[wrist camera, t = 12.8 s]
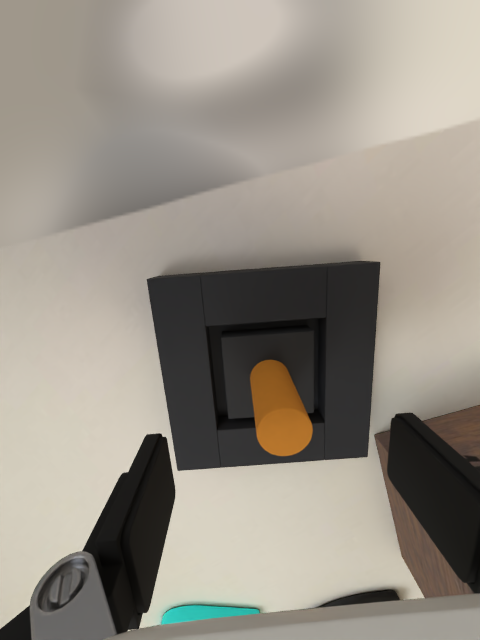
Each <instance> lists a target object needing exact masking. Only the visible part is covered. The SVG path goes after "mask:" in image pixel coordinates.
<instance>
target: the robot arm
mask: <svg viewBox="0 0 480 640" xmlns="http://www.w3.org/2000/svg"><path fill="white" fill-rule="evenodd" d="M387 475H388V478H389V480H390V481H391V483H392V484H393V486H394V487H395V489H396V490H397V491H398V493H399V494H400V496H401V497H402V498H403V500H404V501H405V503H406V504H407V506H408V507H409V508H410V510H411V511H412V513H413V514H414V516H415V517H416V518H417V520H418V521H419V523H420V524H421V525H422V527H423V528H424V530H425V531H426V533H427V534H428V535H429V537H430V538H431V540H432V541H433V543H434V544H435V545H436V547H437V548H438V550H439V551H440V552H441V554H442V555H443V557H444V558H445V560H446V561H447V562H448V564H449V565H450V567H451V568H452V570H453V571H454V572H455V574H456V575H457V577H458V578H459V579H460V580H461V581H462V582H464V583H467V584H468V586H469V587H470V589H471V590H472V591H473V593H474V594H466V595H455V596H443V597H432V598H420V599H409V600H397V601H386V602H375V603H364V604H354V605H343V606H332V607H322V608H311V609H300V610H290V611H280V612H270V613H260V614H250V615H240V616H231V617H221V618H211V619H203V620H195V621H187V622H179V623H171V624H163V625H157V626H151V627H146V628H141V629H139V626H140V622H141V618H142V614H143V613H147V612H148V610H149V607H150V603H151V599H152V595H153V590H154V586H155V582H156V578H157V573H158V569H159V565H160V560H161V556H162V552H163V548H164V543H165V539H166V535H167V530H168V526H169V522H170V517H171V513H172V509H173V505H174V500H175V485H174V479H173V473H172V467H171V461H170V455H169V449H168V443H167V438H166V437H162V434H148V435H146V436H145V438H144V440H143V442H142V444H141V446H140V449H139V451H138V453H137V455H136V457H135V459H134V461H133V463H132V465H131V467H130V470H129V472H127V473H123V474H122V475H121V476H120V478H119V479H118V481H117V483H116V485H115V487H114V489H113V491H112V493H111V495H110V497H109V499H108V501H107V503H106V505H105V507H104V509H103V511H102V513H101V515H100V517H99V519H98V521H97V523H96V525H95V527H94V529H93V531H92V533H91V535H90V537H89V539H88V541H87V543H86V545H85V547H84V549H83V551H82V552H76V553H72V554H69V555H68V556H66V557H64V558H62V559H61V560H59V561H58V562H57V563H56V564H54V565H53V566H52V567H51V568H50V569H49V570H48V571H47V572H46V573H45V575H44V576H43V577H42V578H41V580H40V581H39V583H38V584H37V586H36V587H35V590H34V592H33V595H32V597H31V602H30V606H28V607H27V608H26V609H25V610H24V611H22V612H21V613H20V614H19V615H17V616H16V617H15V618H14V619H12V620H11V621H10V622H9V623H7V624H6V625H5V626H4V627H2V628H1V629H0V640H480V471H479V470H478V469H476V468H475V467H474V466H473V465H472V464H471V463H470V462H468V461H467V460H466V459H465V458H464V457H463V456H462V455H460V454H459V453H458V452H457V451H456V450H455V449H453V448H452V447H451V446H450V445H449V444H448V443H447V442H445V441H444V440H443V439H442V438H441V437H440V436H439V435H437V434H436V433H435V432H434V431H433V430H432V429H430V428H429V427H428V426H427V425H426V424H425V423H424V422H422V421H421V420H420V419H419V418H418V417H417V416H416V415H414V414H413V413H401V414H396V415H395V417H394V418H392V420H391V429H390V440H389V451H388V463H387ZM131 629H135V630H131ZM128 630H131V631H128ZM127 631H128V632H127Z"/></svg>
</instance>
